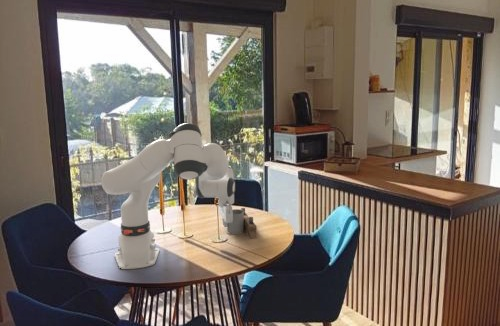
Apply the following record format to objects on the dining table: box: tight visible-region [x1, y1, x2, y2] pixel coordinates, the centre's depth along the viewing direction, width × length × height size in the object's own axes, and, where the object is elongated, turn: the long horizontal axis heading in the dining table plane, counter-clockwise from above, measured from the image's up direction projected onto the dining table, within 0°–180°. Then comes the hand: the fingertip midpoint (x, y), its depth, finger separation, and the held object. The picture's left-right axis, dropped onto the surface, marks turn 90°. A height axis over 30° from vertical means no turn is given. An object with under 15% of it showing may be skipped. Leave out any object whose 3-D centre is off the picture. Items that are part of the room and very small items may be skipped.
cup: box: [227, 208, 245, 235], centre depth 199 cm, size 8×8×10 cm
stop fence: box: [240, 207, 257, 239], centre depth 200 cm, size 24×3×9 cm, turn 15°
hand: (225, 226), depth 198 cm, fingers closed, pressing on cup
